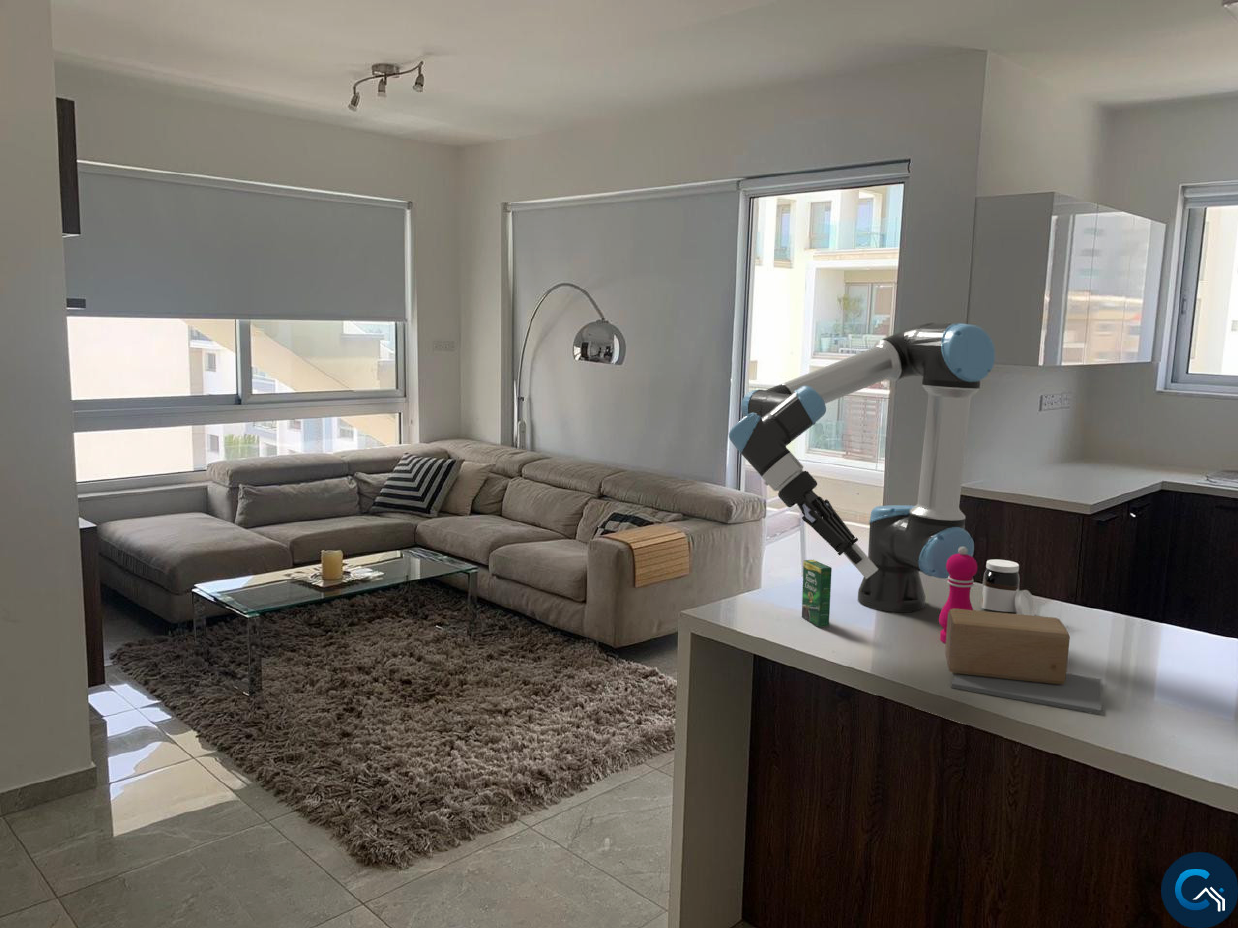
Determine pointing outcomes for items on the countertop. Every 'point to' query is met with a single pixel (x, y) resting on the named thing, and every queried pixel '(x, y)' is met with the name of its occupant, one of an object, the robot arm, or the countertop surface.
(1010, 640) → the wooden block
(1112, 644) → the countertop surface
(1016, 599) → the spread jar
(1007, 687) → the mat
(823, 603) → the coffee box
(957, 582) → the pepper mill
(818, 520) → the robot arm
